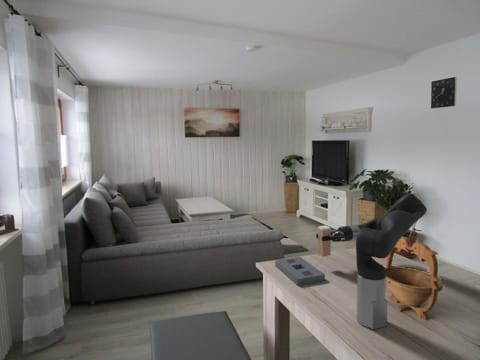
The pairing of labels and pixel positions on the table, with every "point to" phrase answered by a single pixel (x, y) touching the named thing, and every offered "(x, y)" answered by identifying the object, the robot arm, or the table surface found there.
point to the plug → (324, 246)
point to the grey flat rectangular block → (299, 270)
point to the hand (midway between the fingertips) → (319, 237)
